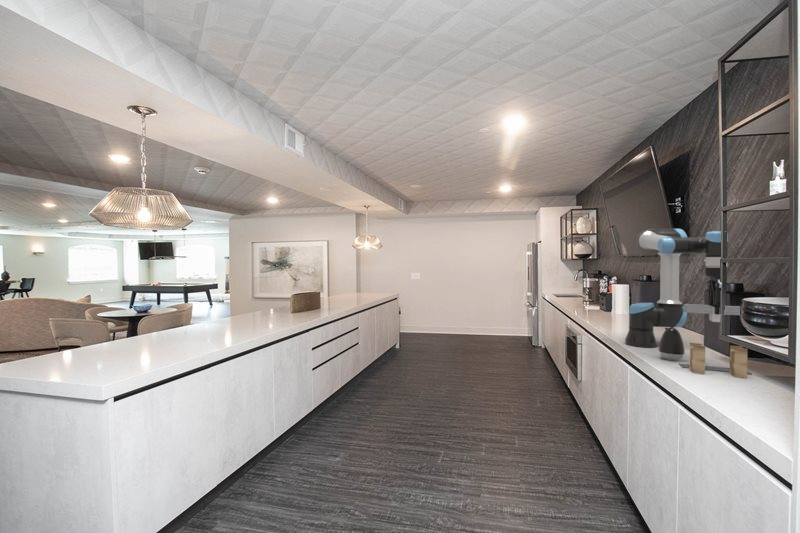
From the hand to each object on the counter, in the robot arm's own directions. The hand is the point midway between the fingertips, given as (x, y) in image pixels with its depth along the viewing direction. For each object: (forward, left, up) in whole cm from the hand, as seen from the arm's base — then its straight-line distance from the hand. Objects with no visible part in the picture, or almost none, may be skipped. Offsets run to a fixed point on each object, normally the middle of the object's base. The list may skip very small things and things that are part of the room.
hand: (714, 321), depth 175 cm
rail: (0, 0, +3) cm, 3 cm away
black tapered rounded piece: (-13, -13, -21) cm, 28 cm away
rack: (+8, -1, -21) cm, 22 cm away
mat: (0, 0, -21) cm, 21 cm away
